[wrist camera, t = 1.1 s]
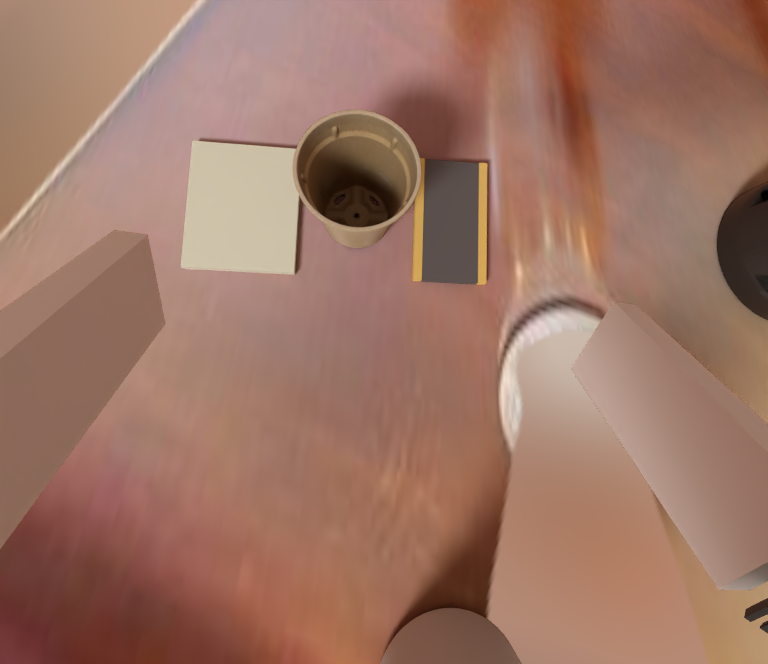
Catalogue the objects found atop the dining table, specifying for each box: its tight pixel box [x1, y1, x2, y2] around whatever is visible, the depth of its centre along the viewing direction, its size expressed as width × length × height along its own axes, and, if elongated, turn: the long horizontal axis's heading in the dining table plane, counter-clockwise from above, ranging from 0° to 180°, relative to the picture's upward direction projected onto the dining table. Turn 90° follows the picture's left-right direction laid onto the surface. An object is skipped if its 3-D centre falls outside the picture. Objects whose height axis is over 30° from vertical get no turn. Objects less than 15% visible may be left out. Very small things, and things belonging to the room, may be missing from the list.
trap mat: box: [412, 158, 487, 285], centre depth 36 cm, size 7×12×1 cm, turn 177°
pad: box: [181, 141, 300, 275], centre depth 35 cm, size 10×12×1 cm
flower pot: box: [292, 110, 422, 248], centre depth 31 cm, size 9×9×9 cm
